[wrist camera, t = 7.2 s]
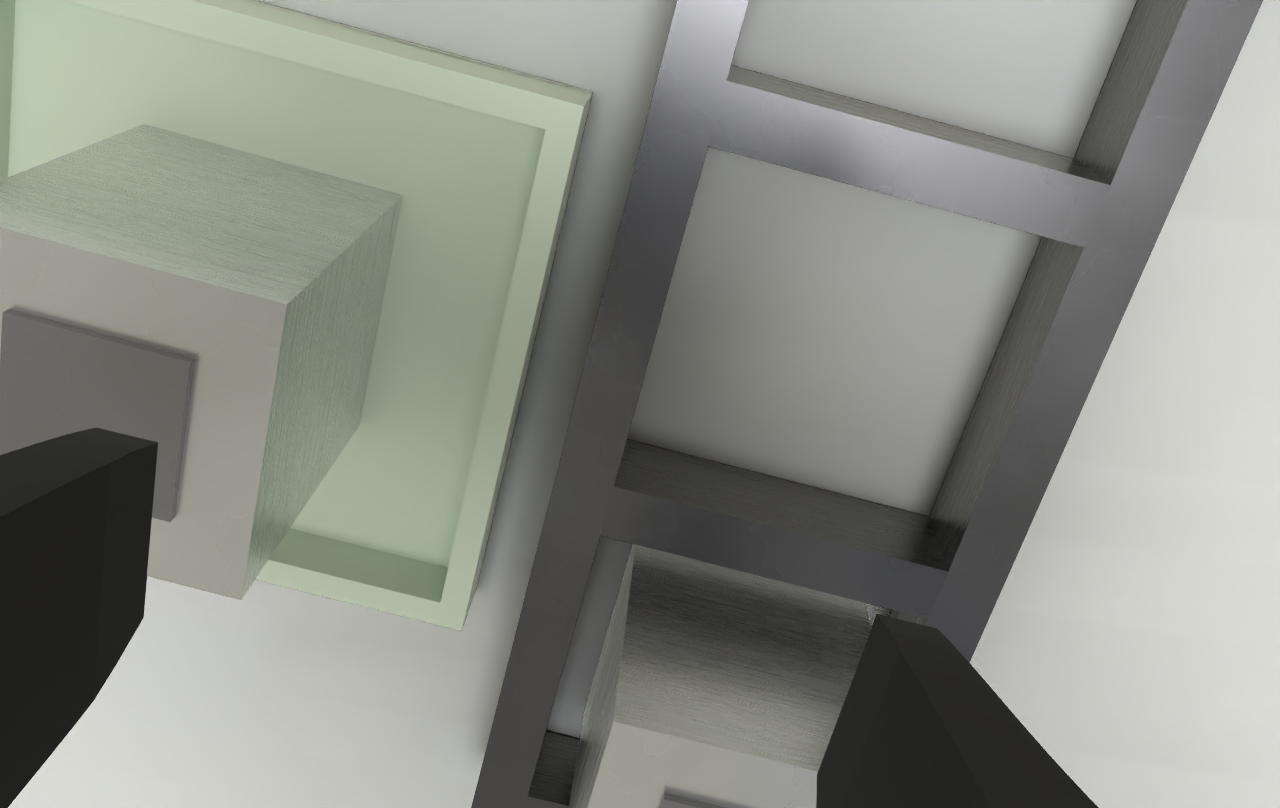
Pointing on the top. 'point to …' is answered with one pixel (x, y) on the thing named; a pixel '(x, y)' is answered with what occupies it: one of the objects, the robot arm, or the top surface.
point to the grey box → (194, 329)
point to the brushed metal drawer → (714, 689)
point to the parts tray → (421, 258)
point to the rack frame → (1005, 408)
